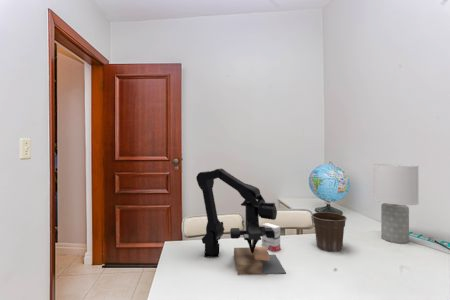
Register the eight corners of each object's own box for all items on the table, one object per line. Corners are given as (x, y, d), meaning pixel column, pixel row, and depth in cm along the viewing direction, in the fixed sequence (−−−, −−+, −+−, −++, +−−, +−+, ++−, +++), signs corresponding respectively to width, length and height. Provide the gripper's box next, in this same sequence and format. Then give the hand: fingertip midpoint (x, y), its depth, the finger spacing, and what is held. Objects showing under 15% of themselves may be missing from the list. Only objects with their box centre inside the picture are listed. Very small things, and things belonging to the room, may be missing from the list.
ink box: (280, 249, 120) (280, 226, 121) (274, 252, 117) (274, 228, 117) (267, 244, 127) (267, 222, 127) (261, 247, 124) (261, 224, 124)
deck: (237, 274, 96) (237, 264, 96) (233, 256, 113) (233, 247, 113) (262, 274, 96) (262, 264, 96) (255, 255, 113) (255, 247, 113)
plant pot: (325, 255, 114) (325, 221, 114) (305, 242, 130) (305, 212, 130) (354, 252, 118) (354, 219, 118) (332, 240, 133) (332, 211, 133)
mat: (262, 274, 96) (262, 273, 96) (255, 255, 113) (255, 254, 113) (286, 273, 97) (286, 272, 97) (275, 255, 114) (275, 254, 114)
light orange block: (255, 259, 100) (255, 254, 100) (251, 250, 109) (252, 246, 109) (269, 260, 100) (269, 255, 100) (264, 251, 109) (265, 247, 109)
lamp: (368, 239, 135) (368, 165, 135) (379, 231, 149) (379, 163, 149) (414, 250, 120) (414, 166, 120) (421, 240, 134) (421, 165, 134)
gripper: (231, 222, 96) (231, 261, 96) (278, 221, 97) (278, 260, 97) (230, 214, 107) (230, 250, 107) (271, 214, 108) (271, 249, 108)
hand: (252, 252), depth 105 cm, fingers closed
